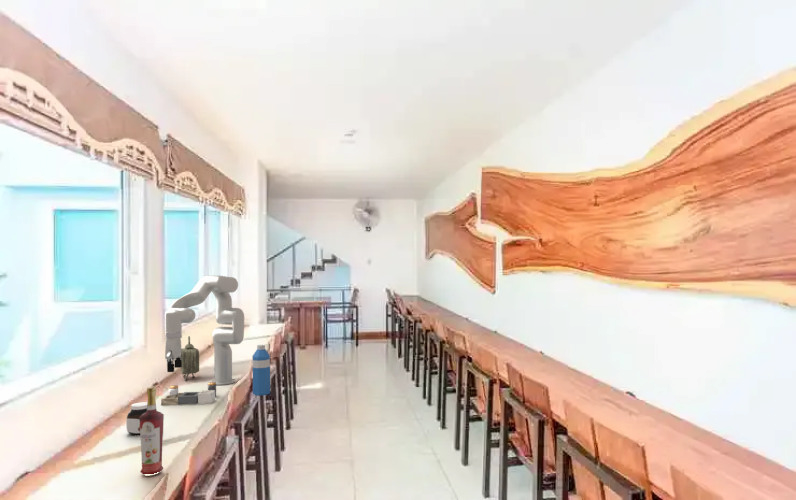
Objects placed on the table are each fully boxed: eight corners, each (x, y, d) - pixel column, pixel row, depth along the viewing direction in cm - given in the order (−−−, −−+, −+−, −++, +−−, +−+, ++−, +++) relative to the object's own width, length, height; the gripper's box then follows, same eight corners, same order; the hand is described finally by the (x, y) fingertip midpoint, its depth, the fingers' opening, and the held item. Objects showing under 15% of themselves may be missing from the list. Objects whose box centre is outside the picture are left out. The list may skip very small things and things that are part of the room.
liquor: (167, 469, 189) (166, 385, 190) (159, 477, 182) (158, 390, 182) (145, 469, 189) (144, 385, 189) (135, 478, 182) (135, 390, 182)
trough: (170, 398, 285) (170, 392, 285) (186, 398, 286) (186, 392, 286) (161, 405, 273) (161, 398, 273) (177, 404, 274) (177, 398, 274)
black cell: (209, 395, 291) (209, 382, 291) (217, 395, 291) (217, 382, 291) (206, 397, 287) (206, 383, 287) (214, 397, 287) (214, 383, 287)
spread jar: (124, 437, 225) (124, 407, 225) (130, 428, 236) (130, 400, 236) (157, 434, 228) (157, 405, 228) (161, 426, 239) (161, 398, 239)
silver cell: (171, 399, 282) (171, 385, 282) (179, 399, 282) (179, 385, 282) (168, 401, 278) (168, 387, 278) (176, 401, 278) (176, 387, 278)
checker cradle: (184, 399, 283) (184, 392, 283) (202, 399, 283) (202, 391, 283) (177, 404, 274) (177, 396, 274) (196, 404, 274) (196, 396, 274)
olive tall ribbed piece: (181, 377, 338) (180, 335, 338) (197, 375, 342) (196, 334, 342) (182, 382, 325) (182, 338, 325) (199, 380, 328) (199, 337, 329)
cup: (202, 400, 281) (202, 390, 281) (215, 400, 281) (215, 390, 281) (198, 403, 275) (197, 393, 275) (211, 403, 275) (211, 393, 275)
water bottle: (273, 391, 299) (272, 343, 299) (267, 395, 290) (266, 346, 290) (255, 391, 300) (255, 343, 300) (249, 395, 291) (249, 346, 291)
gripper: (172, 332, 289) (173, 366, 289) (159, 338, 271) (160, 374, 271) (187, 332, 289) (188, 365, 289) (174, 337, 271) (175, 373, 272)
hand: (174, 369), depth 280 cm, fingers open, 9 cm apart
